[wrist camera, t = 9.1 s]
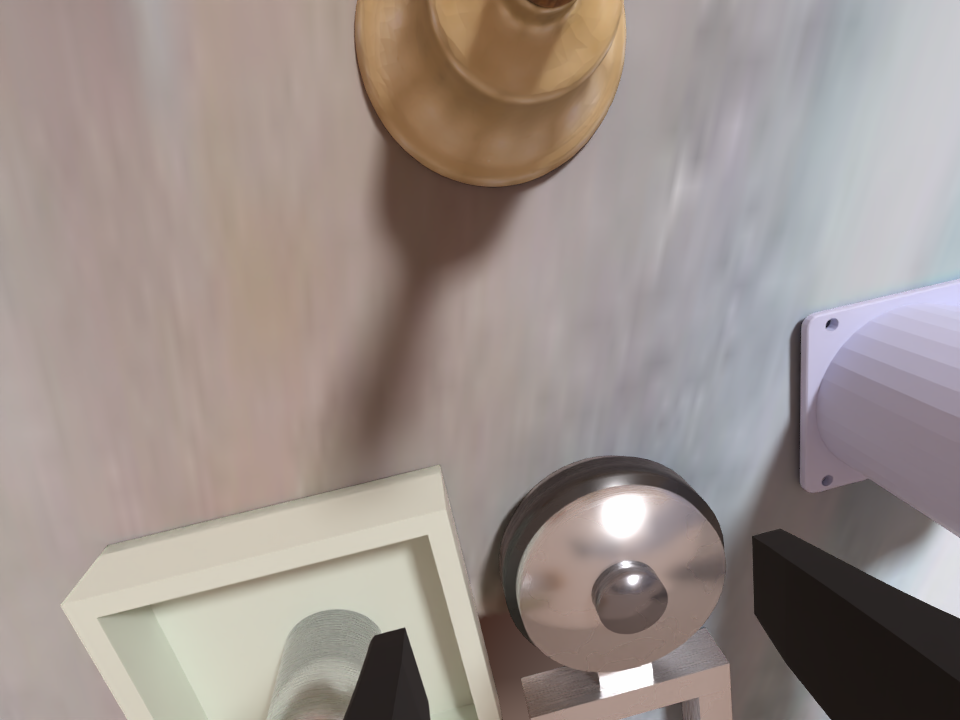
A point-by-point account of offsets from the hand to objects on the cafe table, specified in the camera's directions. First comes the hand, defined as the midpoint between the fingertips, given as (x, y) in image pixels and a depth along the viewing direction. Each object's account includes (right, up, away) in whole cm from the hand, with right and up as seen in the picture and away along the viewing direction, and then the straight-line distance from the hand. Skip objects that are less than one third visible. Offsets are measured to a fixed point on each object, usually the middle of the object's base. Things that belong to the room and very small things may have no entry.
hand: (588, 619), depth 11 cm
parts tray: (-9, -6, +12) cm, 16 cm away
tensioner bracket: (+4, -7, +14) cm, 17 cm away
